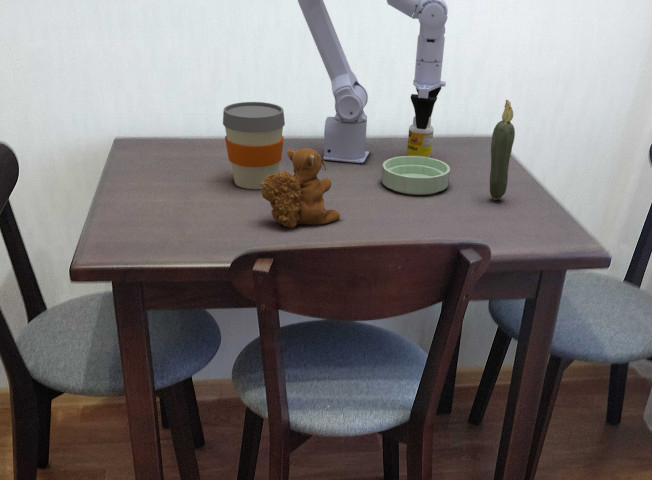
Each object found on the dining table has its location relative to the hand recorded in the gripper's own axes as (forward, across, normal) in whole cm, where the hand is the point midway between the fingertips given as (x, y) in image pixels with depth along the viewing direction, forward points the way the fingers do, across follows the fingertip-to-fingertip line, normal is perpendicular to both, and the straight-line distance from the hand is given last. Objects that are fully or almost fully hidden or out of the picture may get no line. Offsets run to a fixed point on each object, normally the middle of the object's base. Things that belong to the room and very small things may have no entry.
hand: (423, 123), depth 172 cm
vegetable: (+9, -20, -18) cm, 28 cm away
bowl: (+9, -15, -1) cm, 17 cm away
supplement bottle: (+9, 0, 0) cm, 9 cm away
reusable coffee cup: (+9, -23, +32) cm, 41 cm away
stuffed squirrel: (+9, -41, +18) cm, 46 cm away
